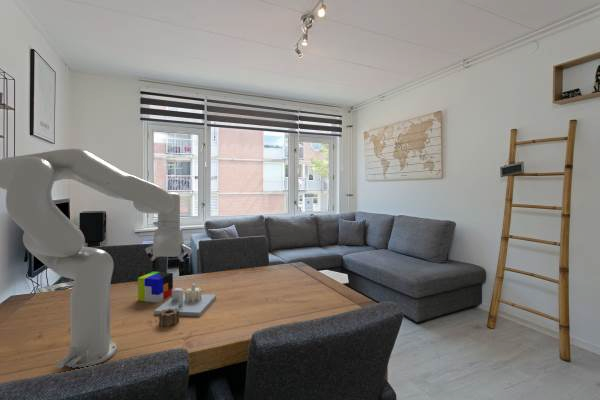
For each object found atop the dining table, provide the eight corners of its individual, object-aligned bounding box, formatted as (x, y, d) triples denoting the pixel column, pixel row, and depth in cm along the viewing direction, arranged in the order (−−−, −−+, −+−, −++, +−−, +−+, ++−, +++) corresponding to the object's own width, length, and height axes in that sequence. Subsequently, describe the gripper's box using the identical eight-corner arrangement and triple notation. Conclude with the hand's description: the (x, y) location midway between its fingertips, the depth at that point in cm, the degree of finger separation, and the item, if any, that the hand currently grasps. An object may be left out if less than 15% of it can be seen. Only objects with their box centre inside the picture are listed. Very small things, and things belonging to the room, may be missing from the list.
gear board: (199, 316, 114) (199, 295, 114) (154, 314, 115) (154, 294, 115) (216, 298, 133) (216, 280, 133) (177, 296, 134) (177, 279, 134)
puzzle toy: (158, 302, 127) (158, 279, 127) (138, 300, 129) (137, 277, 129) (172, 294, 137) (172, 273, 136) (153, 292, 139) (153, 271, 138)
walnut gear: (173, 327, 105) (173, 315, 105) (155, 326, 105) (155, 315, 105) (181, 319, 112) (181, 308, 111) (165, 318, 112) (165, 307, 112)
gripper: (140, 226, 107) (140, 273, 108) (187, 227, 107) (187, 274, 107) (151, 223, 115) (151, 267, 115) (195, 224, 114) (195, 268, 115)
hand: (168, 270), depth 111 cm, fingers open, 9 cm apart
